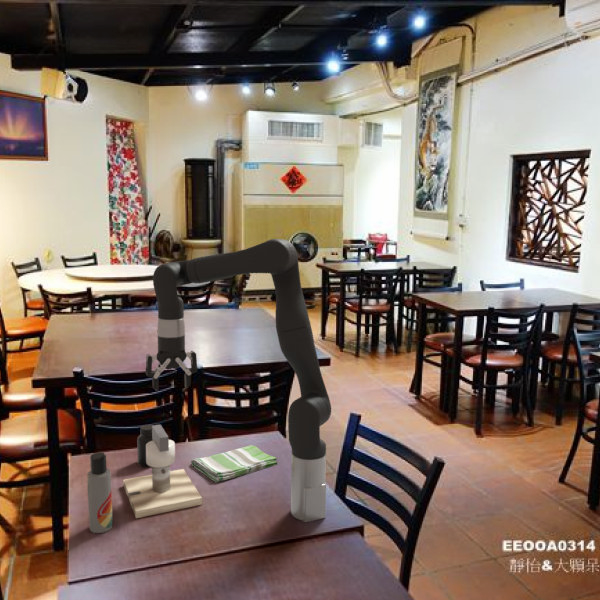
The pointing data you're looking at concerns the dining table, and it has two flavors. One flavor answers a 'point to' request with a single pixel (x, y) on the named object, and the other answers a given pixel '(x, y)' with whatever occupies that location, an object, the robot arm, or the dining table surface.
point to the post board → (161, 492)
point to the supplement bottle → (143, 444)
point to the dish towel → (233, 463)
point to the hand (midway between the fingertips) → (171, 388)
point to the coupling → (160, 448)
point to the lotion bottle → (99, 494)
